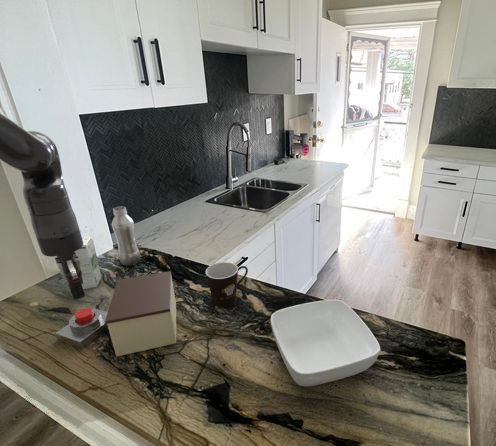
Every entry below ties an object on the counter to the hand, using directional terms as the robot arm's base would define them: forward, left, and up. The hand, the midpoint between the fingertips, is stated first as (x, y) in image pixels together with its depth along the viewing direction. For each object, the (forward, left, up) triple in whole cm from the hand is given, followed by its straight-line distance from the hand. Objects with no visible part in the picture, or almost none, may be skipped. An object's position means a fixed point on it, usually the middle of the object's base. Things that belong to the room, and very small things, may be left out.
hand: (79, 296), depth 73 cm
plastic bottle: (+29, +16, -10) cm, 35 cm away
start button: (0, 0, -7) cm, 7 cm away
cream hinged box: (+6, -13, -10) cm, 17 cm away
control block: (0, 0, -10) cm, 10 cm away
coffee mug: (+23, -26, -10) cm, 36 cm away
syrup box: (+15, +18, -10) cm, 26 cm away
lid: (+6, -13, 0) cm, 14 cm away
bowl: (+12, -56, -10) cm, 58 cm away
